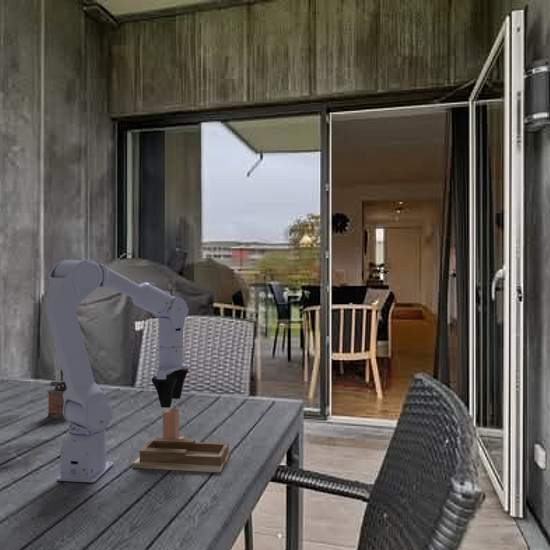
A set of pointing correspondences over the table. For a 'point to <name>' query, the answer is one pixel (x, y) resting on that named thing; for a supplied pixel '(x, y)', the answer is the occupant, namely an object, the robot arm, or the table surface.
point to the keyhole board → (182, 455)
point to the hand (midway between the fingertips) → (170, 402)
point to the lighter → (56, 399)
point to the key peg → (171, 424)
